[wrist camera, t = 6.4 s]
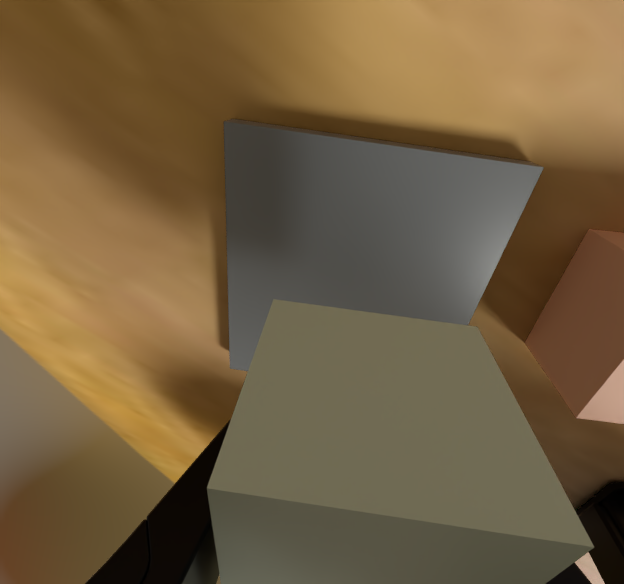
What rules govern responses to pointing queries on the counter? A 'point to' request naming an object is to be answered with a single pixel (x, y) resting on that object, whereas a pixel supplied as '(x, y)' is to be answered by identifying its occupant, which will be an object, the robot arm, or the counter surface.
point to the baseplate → (361, 225)
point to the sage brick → (383, 461)
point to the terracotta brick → (586, 330)
